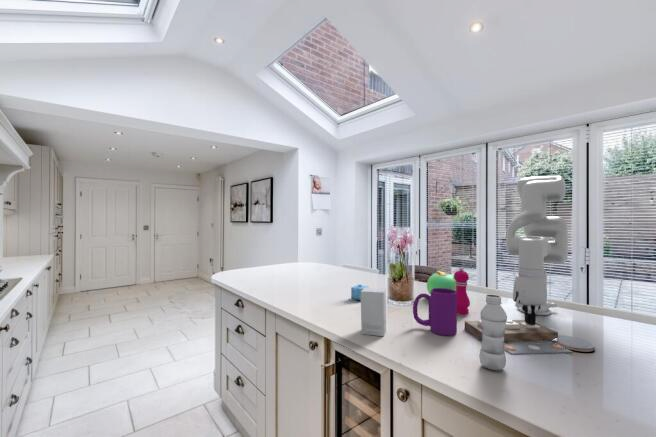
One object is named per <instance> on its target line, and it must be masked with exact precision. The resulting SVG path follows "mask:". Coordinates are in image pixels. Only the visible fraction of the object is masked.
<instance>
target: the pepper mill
mask: <svg viewBox="0 0 656 437" xmlns="http://www.w3.org/2000/svg"><path fill="white" fill-rule="evenodd" d="M453 275H454V279H455V280H456V281H455V285H456V292H457V315H461V316H463V315H466V316H467V315H468V314H469V311H470V310H469V307H470V305H471V301H470V298H469V296H468V294H467V286H468V280H469V279H470V276H469V275H470V274H469V273H468V272H467V271H465V270H464V267H463V266H460V267H459V268H458V270H456V271H455V272H454V274H453Z"/></svg>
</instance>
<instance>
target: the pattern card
mask: <svg viewBox="0 0 656 437" xmlns="http://www.w3.org/2000/svg"><path fill="white" fill-rule="evenodd" d="M555 343H556V342H518V343H504V348H505V352H507V353H508V354H509V355H511V356H512V355H513V356H514V355H515V356H517V355H519V356H521V355H545V354H546V355H549V354H551V355H552V354H573V352H574V351H572V350H570V349H568V348H566V347H564V346H562V345H560V344H558V345H556V344H557V343H556V344H555ZM559 345H560V346H559ZM561 346H562V347H561ZM563 347H564V348H563ZM565 348H566V349H565Z"/></svg>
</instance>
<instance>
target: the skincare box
mask: <svg viewBox="0 0 656 437" xmlns="http://www.w3.org/2000/svg"><path fill="white" fill-rule="evenodd" d="M386 292H387V291H386V288H383V287H382V288H379V287H378V288H377V287H369V288H364V289H363V290H362V291H361V301H360V320H361V322H360V323H361V324H360V326H361V327H360V328H361V329H360V330H361V334H362V335H368V336H379V337H384V336H385V334H386V331H387V301H386V300H387V299H386V298H387V296H386V295H387V294H386Z"/></svg>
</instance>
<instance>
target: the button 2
mask: <svg viewBox="0 0 656 437" xmlns="http://www.w3.org/2000/svg"><path fill="white" fill-rule="evenodd" d="M520 325H522V326H524V327H526V328H529V329H530V328H540V326H538V325H536V324H535V325H530V324H528V323H520Z"/></svg>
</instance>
